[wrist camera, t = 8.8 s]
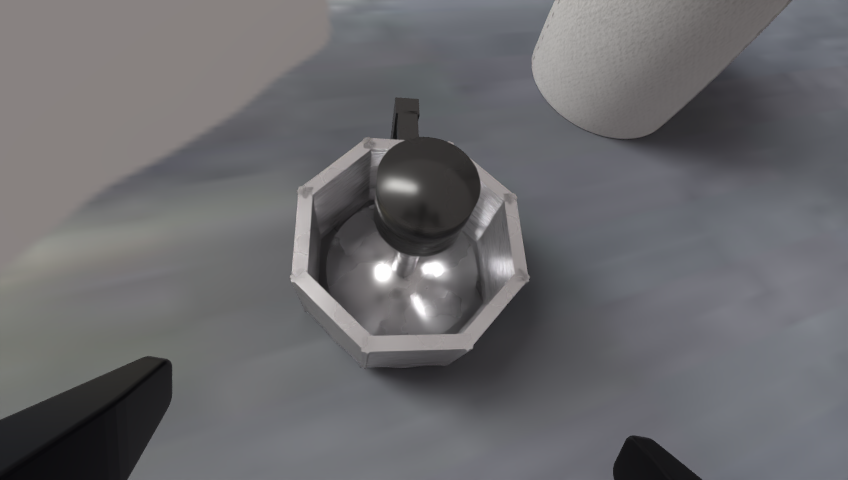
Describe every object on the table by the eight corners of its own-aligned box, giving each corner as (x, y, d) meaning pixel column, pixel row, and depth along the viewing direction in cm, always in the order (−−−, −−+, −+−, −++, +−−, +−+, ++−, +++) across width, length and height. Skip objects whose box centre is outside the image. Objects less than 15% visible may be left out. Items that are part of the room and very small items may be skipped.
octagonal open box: (497, 366, 22) (541, 349, 17) (301, 373, 21) (282, 356, 15) (474, 163, 27) (502, 102, 22) (315, 156, 26) (305, 88, 20)
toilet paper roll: (693, 77, 34) (843, -76, 24) (640, 170, 29) (799, 29, 19) (570, 3, 36) (659, -172, 25) (500, 80, 31) (575, -98, 20)
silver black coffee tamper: (415, 378, 20) (456, 347, 12) (294, 279, 21) (254, 187, 13) (500, 262, 24) (579, 174, 15) (391, 180, 25) (409, 57, 16)
